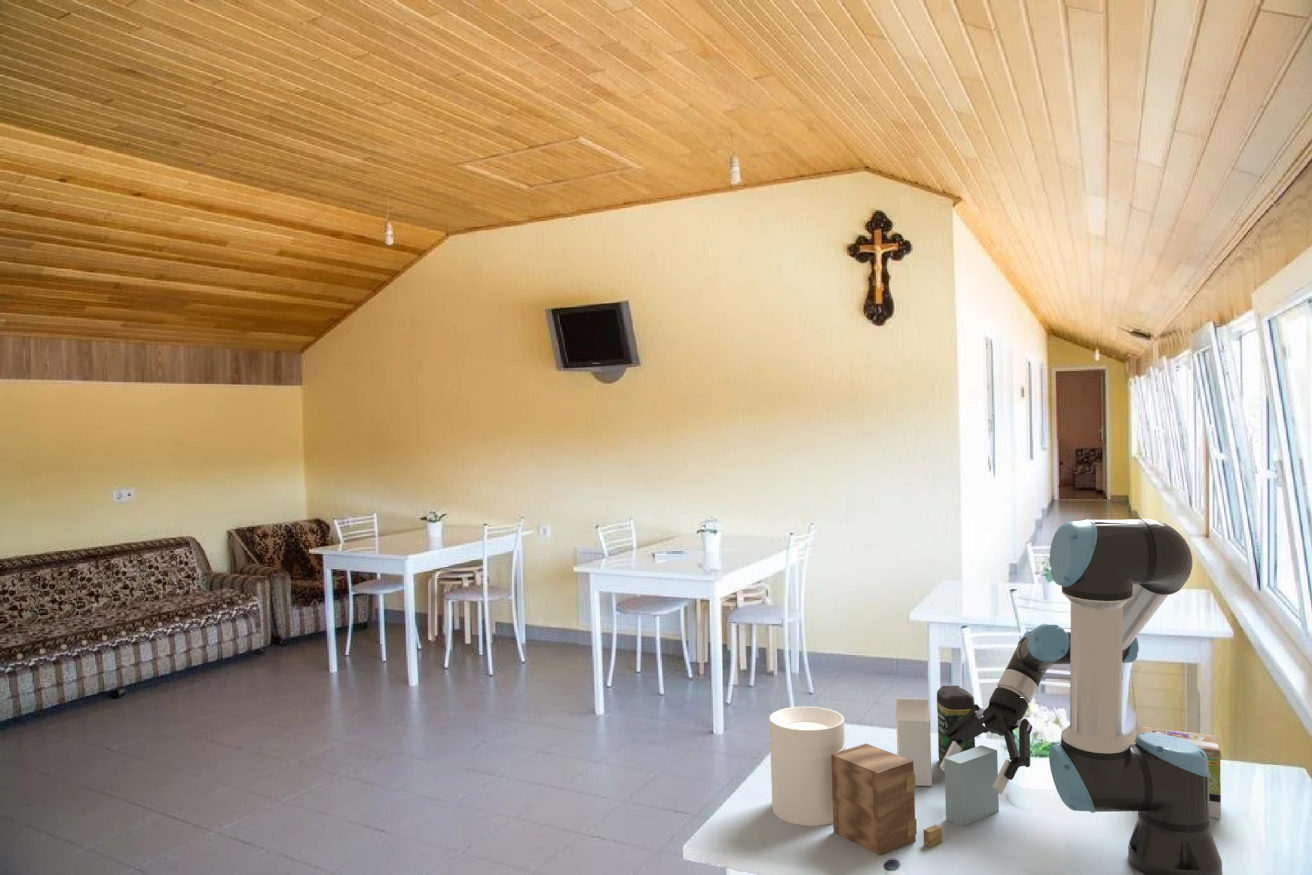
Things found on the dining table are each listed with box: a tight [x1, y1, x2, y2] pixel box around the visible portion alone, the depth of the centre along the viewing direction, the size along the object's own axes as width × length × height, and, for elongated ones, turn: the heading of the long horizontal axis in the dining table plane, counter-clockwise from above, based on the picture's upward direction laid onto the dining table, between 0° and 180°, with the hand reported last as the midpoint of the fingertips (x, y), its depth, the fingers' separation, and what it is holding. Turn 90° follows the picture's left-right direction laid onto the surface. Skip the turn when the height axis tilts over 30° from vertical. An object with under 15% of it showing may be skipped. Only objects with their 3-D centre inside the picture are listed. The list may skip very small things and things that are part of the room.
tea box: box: [1138, 725, 1222, 820], centre depth 196 cm, size 15×10×15 cm
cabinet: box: [831, 743, 943, 856], centre depth 186 cm, size 16×14×16 cm
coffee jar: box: [936, 684, 976, 764], centre depth 222 cm, size 10×8×19 cm
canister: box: [769, 706, 846, 827], centre depth 200 cm, size 16×16×20 cm
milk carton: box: [895, 697, 933, 787], centre depth 214 cm, size 7×7×19 cm
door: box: [944, 745, 1000, 827], centre depth 194 cm, size 4×12×13 cm, turn 123°
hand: (969, 780), depth 195 cm, fingers open, 13 cm apart
